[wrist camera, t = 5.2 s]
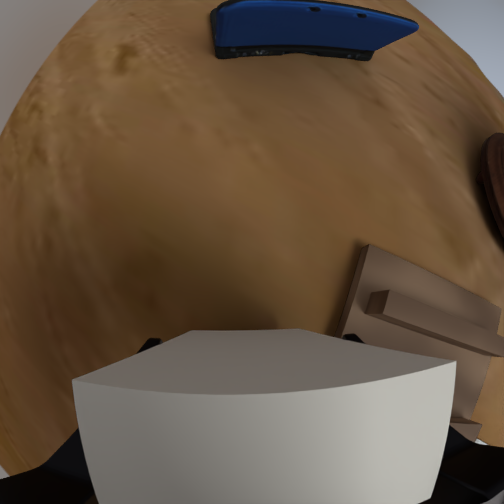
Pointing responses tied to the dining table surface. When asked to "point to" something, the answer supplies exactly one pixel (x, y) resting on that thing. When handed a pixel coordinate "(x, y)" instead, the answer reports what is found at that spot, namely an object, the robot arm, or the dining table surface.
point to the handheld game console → (303, 29)
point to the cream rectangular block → (265, 421)
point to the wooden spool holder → (494, 176)
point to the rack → (424, 323)
